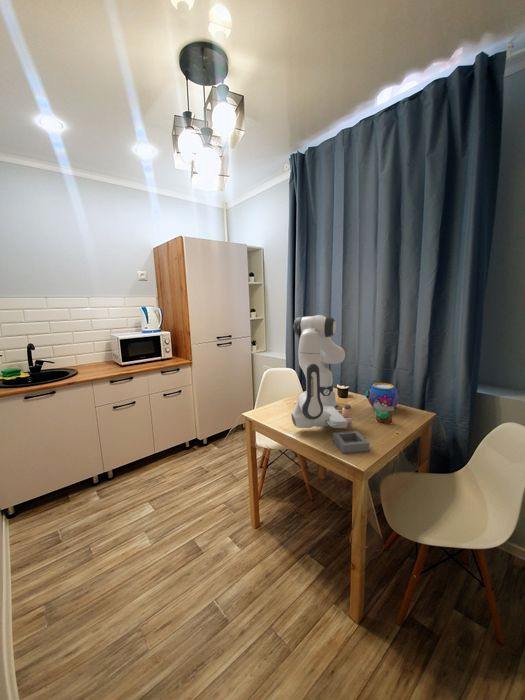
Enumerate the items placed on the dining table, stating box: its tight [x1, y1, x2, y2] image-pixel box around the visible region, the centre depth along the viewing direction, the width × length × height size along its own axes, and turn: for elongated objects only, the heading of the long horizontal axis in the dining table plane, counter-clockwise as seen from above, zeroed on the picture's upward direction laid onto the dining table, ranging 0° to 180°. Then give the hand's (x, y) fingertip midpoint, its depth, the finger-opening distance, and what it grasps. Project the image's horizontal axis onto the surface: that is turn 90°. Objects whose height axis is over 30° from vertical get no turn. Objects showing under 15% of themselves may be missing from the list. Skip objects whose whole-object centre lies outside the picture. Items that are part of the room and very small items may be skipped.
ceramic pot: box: [365, 382, 400, 409], centre depth 166 cm, size 18×18×15 cm
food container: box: [373, 400, 395, 425], centre depth 149 cm, size 12×6×10 cm, turn 19°
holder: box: [332, 430, 370, 455], centre depth 126 cm, size 12×12×4 cm
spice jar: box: [341, 404, 353, 431], centre depth 143 cm, size 5×5×12 cm
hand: (348, 415), depth 143 cm, fingers open, 8 cm apart
